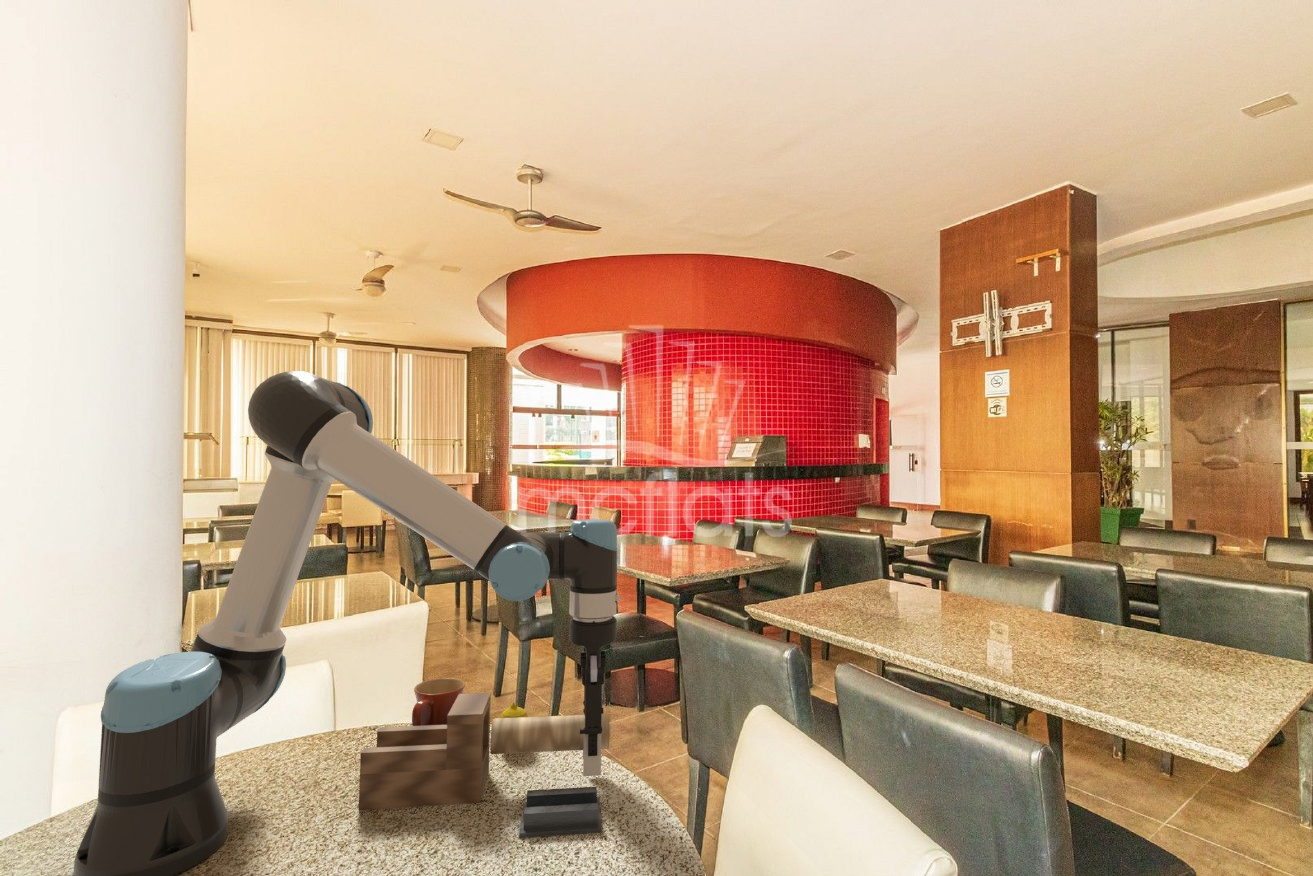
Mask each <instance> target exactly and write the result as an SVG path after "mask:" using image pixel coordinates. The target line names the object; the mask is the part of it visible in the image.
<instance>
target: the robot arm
mask: <svg viewBox="0 0 1313 876" xmlns="http://www.w3.org/2000/svg"><path fill="white" fill-rule="evenodd" d="M247 414H248V420H249V424H250V426H251V428H252V430H253V433H254V434H255V435H256V436H257V438H259V440H261V441H262V442H263V443H264V444H265V445H266V449H265V450H264V451H265V452H264V456H265V457H266V458H267V460H268V462H269V464H270V470H269V474H268V476H267V479H266V482H265V484H264V487H263V490H262V492H261V495H260V498H259V500H258V503H257V506H256V508H255V512H254V514H253V516H252V520H251V521H250V524H249V527H248V530H247V533H246V535H245V538H244V540H243V544H242V546H241V548H240V551H239V554H238V557H237V560H236V562H235V565H234V568H233V571H232V574H231V577H230V579H229V581H228V584H227V587H226V590H225V592H224V596H223V598H222V600H221V603H220V606H219V609H218V612H217V614H216V617H215V618H214V619H213V620H211V621H209V622H206V623H205V624H203V625H201V626H200V627H199V629H198V630H197V634H196V637H195V639H194V642H193V644H192V647H191V650H190V651H183V652H182V651H181V652H174V653H170V654H164V655H160V656H159V657H158V658H153V659H152V658H151V659H147V660H144V661H140V662H138V663H136V664H134V665H132V666H130V667H127V668H126V669H124V670H122V671H121V672H119V673H118V674H116V675H115V677H114V678H112V679H111V681H110V682H109V683H108V685H107V687H106V688H105V689H106V690H105V694H104V700H103V705H102V707H101V711H100V720H101V735H100V736H101V738H100V753H99V755H100V756H99V772H98V793H97V804H96V808H95V810H94V811H93V815H92V817H91V819H90V821H89V824H88V826H87V828H86V831H85V833H84V835H83V838H82V840H81V842H80V844H79V847H78V849H77V851H76V854H75V858H74V862H73V863H74V864H73V875H74V876H176V875H178V874H180V873H183V872H185V871H187V870H189V869H191V868H192V867H193V868H194V866H196V865H198V864H199V863H200V864H201V862H203V861H204V860H206V859H207V858H208V857H210V856H211V855H212V854H214V853H215V852H217V851H218V849H219V848H220V847H221V846H222V845H223V844H224V842H225V841H226V839H227V837H228V832H229V831H228V830H229V814H228V813H229V812H228V811H227V808H226V804H225V802H224V799H223V797H222V794H221V793H222V792H221V791H220V788H219V785H218V782H217V780H216V773H215V772H216V757H217V738H219V736H222V735H223V734H224V733H226V732H227V731H228V730H230V729H231V728H233V727H234V726H236V725H237V724H239V723H241V722H242V721H244V720H245V719H246V718H248V717H250V716H251V715H253V714H254V713H256V712H258V711H259V710H261V709H262V708H263V707H264V706H265V705H266V704H268V702H269V701H270V699H271V698H273V696H274V695H275V694H276V693H277V692H278V690H279V689H280V688H281V685H282V684H283V681H284V678H285V675H286V669H287V662H286V661H287V660H286V659H287V658H286V655H284V654H283V651H284V649H285V646H286V643H287V637H286V635H285V633H284V632H283V631H282V629H281V624H282V623H283V619H284V616H285V614H286V611H287V608H288V605H289V603H290V599H291V598H292V594H293V592H294V589H295V586H296V584H297V581H298V578H299V574H300V572H301V570H302V567H303V564H304V561H305V559H306V555H307V553H308V550H309V548H310V545H311V542H312V540H313V536H314V533H315V530H316V529H317V525H318V523H319V520H320V516H321V515H322V512H323V509H324V506H325V503H326V500H327V499H328V498H327V497H328V495H329V492H330V489H331V486H332V483H334V482H335V481H337V482H338V483H341V484H342V485H344V486H345V487H347V488H348V489H350V490H351V491H352V492H354V493H355V494H358V495H359V496H361V497H362V498H363V499H365V500H367V501H368V502H369V503H371V504H373V505H374V506H376V507H377V508H379V510H382V511H383V512H385V513H386V514H387V515H389V516H391V517H393V519H395V520H397V521H398V522H399V523H401V524H403V525H404V526H406V527H407V528H409V529H411V531H413V532H415V533H417V534H418V535H420V536H422V537H423V538H424V539H426V540H428V541H429V542H430V543H432V544H433V545H434V546H437V547H438V548H440V549H441V550H442V551H444V552H446V553H448V554H449V555H450V556H452V557H454V558H455V559H456V560H458V561H459V562H460V563H462V564H464V565H466V566H467V567H469V568H470V569H472V570H473V571H475V572H477V573H478V574H479V575H480V576H481V577H483V578H485V579H486V580H487V581H489V583H490V585H491V587H492V589H493V590H494V592H495V593H496V594H497V595H498V596H500V597H501V598H503V599H505V600H507V601H511V602H522V601H526V600H529V599H530V598H532V597H534V596H535V595H536V594H538V592H540V590H542V589H544V587H545V586H546V585H547V583H548V581H557V580H561V581H565V580H569V581H570V582H569V583H570V585H569V587H570V588H569V606H568V607H569V608H568V610H569V615H570V616H571V618H570V619H569V635H568V636H569V641H570V643H571V644H573V645H575V646H579V647H583V651H580V653H579V654H580V655H579V656H580V657H579V658H580V659H579V660H580V668H581V684H582V685H583V687H584V688H583V689H584V690H583V701H582V704H583V710H582V712H583V715H585V727H584V729H580V734H584V747H583V750H582V760H583V761H582V764H583V765H582V767H583V768H582V770H583V771H582V775H583V777H593V776H595V777H596V776H597V777H598V776H602V749H601V733H602V727H601V718H602V714H605V713H604V707H602V703H603V699H602V698H603V697H602V696H603V694H602V693H603V685H604V683H605V667H606V664H607V662H606V660H607V659H606V651H605V650H601V648H602V647H603V646H609V645H611V644H613V643H615V642H616V640H617V631H618V630H617V628H618V627H617V624H618V623H617V622H618V621H617V618H616V617H615V615H616V614H617V602H619V601H620V600H621V595H619V594H617V586H618V585H617V584H618V533H617V532H618V531H617V529H618V528H617V525H616V524H615V523H614V521H612V520H609V519H601V518H598V519H596V518H591V519H590V518H588V519H575V520H573V521H572V522H571V523H570V524H571V525H570V529H569V531H565V532H521V531H517V530H515V529H514V528H513V527H510V526H509V525H507V523H505V522H503V521H502V520H501V519H499V518H497V517H496V516H495V515H493V514H491V513H490V512H489V511H487V510H485V509H484V508H483V507H481V506H479V505H478V503H477V504H476V503H475V502H474V501H472V500H471V499H469V498H467V496H465V495H463V494H461V493H460V492H459V491H457V490H455V489H454V488H453V487H451V486H450V485H448V484H446V483H445V482H444V481H443V480H441V479H439V478H438V477H436V476H435V475H434V474H432V473H430V472H428V471H427V470H426V469H424V468H423V467H421V466H420V465H418V464H417V463H415V462H414V461H412V460H411V459H409V458H408V457H406V456H405V455H404V454H401V453H400V452H399V451H397V450H395V449H394V447H392V446H390V445H388V444H387V443H385V442H383V441H382V440H381V439H379V438H378V437H376V436H375V435H373V434H372V432H373V428H374V427H373V426H374V420H373V414H372V411H371V408H370V406H369V404H368V403H367V401H366V400H365V398H363V396H362V395H360V393H359V392H357V391H355V389H353V388H351V387H349V386H347V385H345V384H343V383H341V382H336V381H333V380H330V379H327V378H323V377H321V376H318V375H316V374H314V373H310V372H306V371H297V370H292V371H291V370H290V371H283V372H279V373H277V374H275V375H274V374H273V375H271V376H269V377H268V378H266V379H265V380H264V381H262V382H261V383H260V384H259V385H257V387H256V388H255V389H254V391H253V393H252V394H251V397H250V399H249V401H248V408H247Z"/></svg>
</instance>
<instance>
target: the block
mask: <svg viewBox="0 0 1313 876" xmlns="http://www.w3.org/2000/svg"><path fill="white" fill-rule="evenodd" d="M491 695H492V694H491V692H471V693H469V692H467V693H463V694H459V695H458V697H457V699H456V700H455V702H454V704H453V706H452V708H451V710H450V712H449V713H448V715H447V725H427V726H412V725H408V726H407V725H404V726H385V727H384V726H382V727H379V729H378V730H377V732H376V747H364V748H363V749H362V751H360V757H359V760H360V761H359V762H360V763H359V764H360V765H359V785H358V786H359V787H358V791H359V792H358V811H364V810H365V811H366V810H385V809H388V810H389V809H398V808H399V809H402V808H419V807H436V806H438V807H439V806H452V805H453V806H454V805H455V806H456V805H468V804H469V805H470V804H471V805H472V804H480V803H481V802H482V797H483V794H484V792H485V791H484V790H485V787H486V784H487V781H488V778H489V774H490V741H491V697H492V696H491Z"/></svg>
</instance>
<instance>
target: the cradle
mask: <svg viewBox="0 0 1313 876" xmlns="http://www.w3.org/2000/svg"><path fill="white" fill-rule="evenodd" d="M526 791H527V793H526V801H523V808H522V813H521V819H520V826H519V831H518V838H519V839H522V838H523V839H524V838H526V839H527V838H538V837H539V838H540V837H555V836H568V835H570V836H572V835H582V834H583V835H584V834H602V832H603V831H602V830H603V828H602V826H603V825H602V824H603V823H602V816H601V815H602V814H601V813H602V812H601V811H602V810H601V800H600V799H601V797H598V786H583V787H581V786H580V787H579V786H578V787H568V788H567V787H565V788H549V789H548V788H545V789H531V790H530V789H529V790H526Z"/></svg>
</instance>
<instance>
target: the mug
mask: <svg viewBox="0 0 1313 876" xmlns="http://www.w3.org/2000/svg"><path fill="white" fill-rule="evenodd" d="M465 688H466V682H465V681H464V680H463V679H460V678H454V677H440V678H439V677H438V678H433V679H429V680H425V681H423V682H420V683H418V684H416V685H415V686H414V688H413V692H414V695H415V698H416V703H415V705H414V706H413V708H412V713H411V726H427V725H447V715H448V713H449V712H450V710H451V708H452V706H453V704H454V702H455V700H456V699H457V697H458V695H459V694H464V691H465Z"/></svg>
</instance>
